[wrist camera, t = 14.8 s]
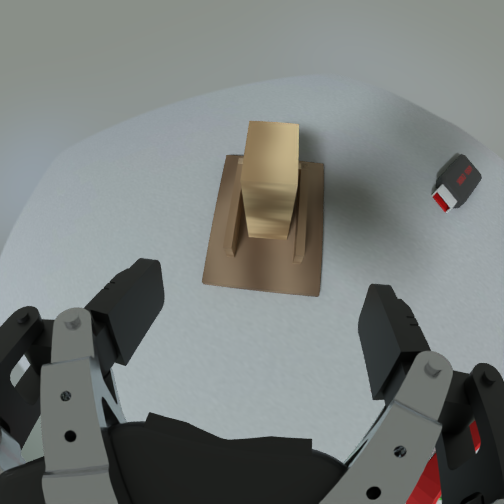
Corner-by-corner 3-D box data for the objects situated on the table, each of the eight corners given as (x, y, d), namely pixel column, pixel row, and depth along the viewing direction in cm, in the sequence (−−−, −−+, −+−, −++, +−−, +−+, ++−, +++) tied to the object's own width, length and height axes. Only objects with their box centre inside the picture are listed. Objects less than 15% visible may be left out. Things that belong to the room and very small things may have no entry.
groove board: (322, 168, 33) (327, 148, 29) (317, 296, 28) (325, 290, 24) (227, 159, 34) (223, 139, 30) (203, 284, 29) (194, 275, 25)
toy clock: (541, 416, 14) (486, 526, 9) (518, 413, 20) (469, 515, 14) (470, 423, 17) (393, 555, 11) (443, 415, 23) (379, 535, 17)
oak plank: (289, 191, 31) (298, 124, 20) (286, 240, 29) (297, 184, 19) (254, 188, 31) (249, 120, 21) (248, 237, 29) (240, 180, 19)
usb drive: (476, 183, 32) (485, 174, 30) (448, 220, 30) (459, 212, 28) (456, 159, 34) (464, 150, 31) (425, 192, 32) (434, 182, 29)
